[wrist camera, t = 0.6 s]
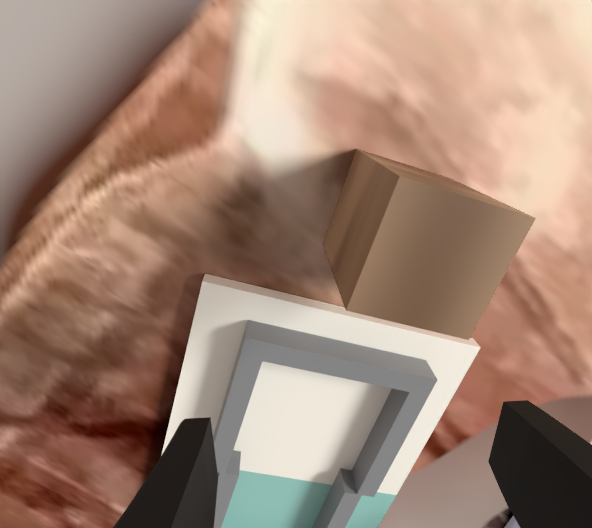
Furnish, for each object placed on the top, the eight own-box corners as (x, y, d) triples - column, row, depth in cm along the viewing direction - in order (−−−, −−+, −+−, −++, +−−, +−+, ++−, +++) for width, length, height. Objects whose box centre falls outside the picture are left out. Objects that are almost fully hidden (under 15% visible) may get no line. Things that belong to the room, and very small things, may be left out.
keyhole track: (473, 338, 20) (496, 366, 18) (343, 570, 28) (349, 609, 26) (205, 273, 18) (196, 297, 16) (140, 545, 25) (129, 586, 23)
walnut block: (450, 178, 17) (535, 218, 12) (410, 267, 19) (468, 340, 13) (355, 148, 16) (399, 176, 11) (322, 244, 18) (345, 310, 12)
